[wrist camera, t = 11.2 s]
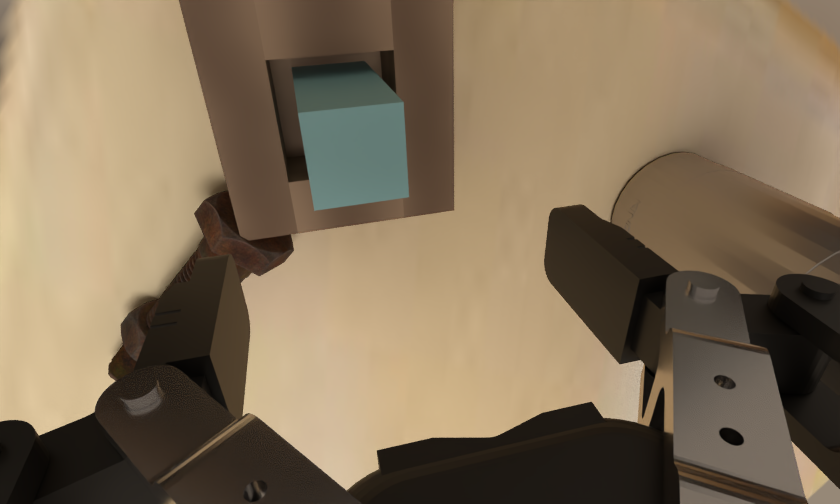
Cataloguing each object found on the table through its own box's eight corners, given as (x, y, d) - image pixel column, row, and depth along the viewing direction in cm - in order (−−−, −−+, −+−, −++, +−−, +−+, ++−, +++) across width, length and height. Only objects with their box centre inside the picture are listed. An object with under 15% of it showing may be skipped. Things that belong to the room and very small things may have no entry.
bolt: (135, 333, 36) (250, 185, 31) (186, 380, 36) (308, 240, 31) (64, 370, 30) (191, 197, 25) (124, 427, 30) (261, 265, 26)
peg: (364, 60, 27) (403, 102, 19) (371, 131, 29) (409, 197, 21) (291, 67, 26) (297, 112, 18) (303, 139, 28) (314, 210, 20)
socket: (425, -26, 27) (453, -25, 22) (431, 179, 33) (454, 210, 29) (193, -15, 24) (176, -11, 20) (246, 204, 30) (241, 241, 26)
